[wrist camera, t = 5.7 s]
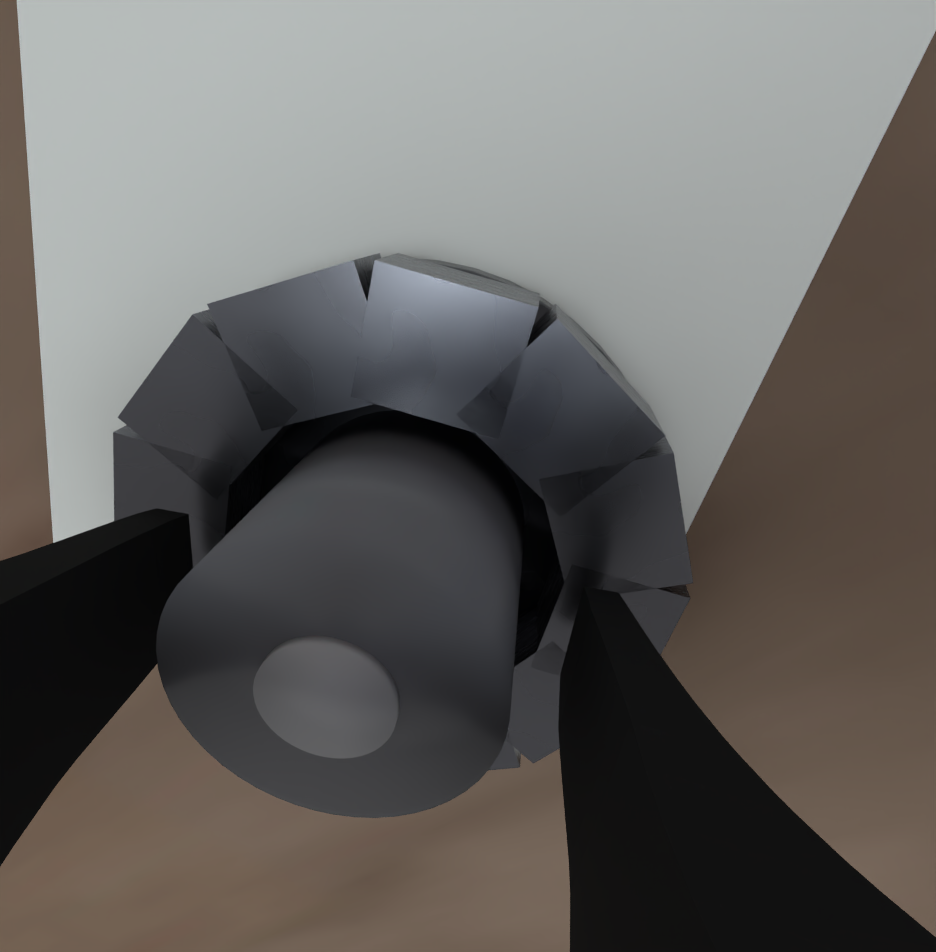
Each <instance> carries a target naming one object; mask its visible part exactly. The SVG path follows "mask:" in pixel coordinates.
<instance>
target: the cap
mask: <svg viewBox="0 0 936 952" xmlns="http://www.w3.org/2000/svg"><path fill="white" fill-rule="evenodd" d="M524 526H525V520H524V510H523V505H522V501H521V497H520V493H519V491H518V488H517V486H516V484H515V481H514V479H513V477H512V476H511V474H510V472H509V470H508V469H507V467H506V466H505V464H504V463H503V462H502V460H501V459H500V458H499V457H498V455H497V454H496V453H495V452H494V451H493V450H492V449H491V448H490V447H489V446H487V445H486V444H485V443H484V442H483V441H482V440H481V439H480V438H478V437H477V436H476V435H474V434H473V433H472V432H470V431H467V430H464V429H460V428H457V427H453V426H450V425H446V424H443V423H439V422H436V421H432V420H429V419H426V418H422V417H419V416H415V415H412V414H408V413H405V412H401V411H398V410H389V411H378V412H374V413H370V414H365V415H362V416H359V417H357V418H354V419H352V420H349V421H347V422H345V423H344V424H342V425H340V426H338V427H336V428H335V429H334V430H333V431H331V432H330V433H329V434H327V435H326V436H325V437H324V438H323V439H322V440H321V441H320V442H319V443H318V444H317V445H316V446H315V447H314V448H313V449H312V450H311V451H310V452H309V453H308V454H307V455H306V456H305V457H304V458H303V459H302V460H301V461H300V462H299V463H298V464H297V465H296V466H295V467H294V468H293V469H292V470H291V471H290V472H289V473H288V474H287V475H286V476H285V477H284V478H283V479H282V480H281V481H280V482H279V483H278V484H277V485H276V486H275V487H274V488H273V489H272V490H271V491H270V492H269V493H268V494H267V495H266V496H265V497H264V498H263V499H262V500H261V501H260V502H259V503H258V504H257V505H256V506H255V507H254V508H253V509H252V510H251V511H250V512H249V513H248V514H247V515H246V516H245V517H244V518H243V519H242V520H241V521H240V522H239V523H238V524H237V525H236V526H235V527H234V528H233V529H232V530H231V531H230V532H229V533H228V534H227V535H226V536H225V537H224V538H223V539H222V540H221V541H220V542H219V543H218V544H217V545H216V546H215V547H214V548H213V549H212V550H211V551H210V552H209V553H208V554H207V555H206V556H205V557H204V558H203V559H202V560H201V561H200V562H199V563H198V564H197V565H196V566H195V567H194V568H193V569H192V570H191V571H190V572H189V573H188V574H187V575H186V576H185V577H184V578H183V579H182V580H181V581H180V582H179V583H178V584H177V586H176V587H175V589H174V590H173V592H172V594H171V595H170V597H169V598H168V600H167V602H166V604H165V607H164V609H163V612H162V614H161V616H160V621H159V626H158V630H157V641H156V655H157V662H158V670H159V673H160V677H161V680H162V684H163V687H164V689H165V692H166V694H167V696H168V699H169V701H170V703H171V705H172V707H173V708H174V710H175V712H176V714H177V715H178V717H179V719H180V720H181V722H182V723H183V724H184V726H185V727H186V728H187V730H188V731H189V732H190V734H191V735H192V736H193V737H194V738H195V739H196V741H197V742H198V743H199V744H200V745H201V746H202V747H203V748H204V749H205V750H206V751H207V752H208V753H209V754H210V755H211V756H213V757H214V758H215V759H216V760H217V761H218V762H219V763H221V764H222V765H223V766H224V767H226V768H227V769H229V770H230V771H231V772H233V773H234V774H235V775H237V776H238V777H240V778H241V779H243V780H245V781H246V782H248V783H250V784H251V785H253V786H255V787H256V788H258V789H260V790H262V791H264V792H266V793H268V794H271V795H273V796H275V797H277V798H279V799H282V800H285V801H287V802H290V803H292V804H295V805H298V806H301V807H305V808H308V809H312V810H315V811H320V812H324V813H329V814H334V815H342V816H350V817H368V818H379V817H394V816H401V815H407V814H412V813H417V812H420V811H424V810H427V809H431V808H434V807H436V806H438V805H441V804H443V803H445V802H448V801H450V800H452V799H453V798H455V797H457V796H458V795H460V794H462V793H464V792H465V791H466V790H468V789H469V788H470V787H471V786H473V785H474V784H475V783H476V782H478V781H479V780H480V779H481V778H482V776H483V775H484V774H485V773H486V772H487V771H488V770H489V769H490V767H491V766H492V764H493V763H494V761H495V760H496V758H497V757H498V755H499V753H500V751H501V749H502V746H503V744H504V741H505V739H506V735H507V731H508V726H509V722H510V711H511V698H512V685H513V672H514V659H515V646H516V633H517V620H518V608H519V595H520V582H521V569H522V556H523V543H524Z"/></svg>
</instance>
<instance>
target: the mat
mask: <svg viewBox="0 0 936 952" xmlns="http://www.w3.org/2000/svg"><path fill="white" fill-rule="evenodd" d="M17 10H18V25H19V40H20V54H21V69H22V84H23V99H24V114H25V129H26V144H27V158H28V173H29V188H30V203H31V218H32V233H33V247H34V262H35V277H36V292H37V307H38V322H39V337H40V351H41V366H42V381H43V396H44V411H45V426H46V440H47V455H48V470H49V485H50V500H51V515H52V530H53V543H55V542H57V541H60V540H63V539H66V538H69V537H71V536H74V535H77V534H80V533H82V532H85V531H88V530H91V529H94V528H96V527H99V526H102V525H105V524H108V523H110V522H113V521H114V469H113V432H114V431H116V430H118V429H120V428H122V427H124V426H126V424H125V423H124V422H122V421H121V420H120V419H119V418H118V416H119V414H120V413H121V412H122V410H123V409H124V408H125V406H126V405H127V403H128V402H129V401H130V399H131V398H132V397H133V395H134V394H135V392H136V391H137V390H138V388H139V387H140V386H141V384H142V383H143V381H144V380H145V379H146V377H147V376H148V375H149V373H150V372H151V370H152V369H153V368H154V366H155V365H156V364H157V362H158V361H159V359H160V358H161V357H162V355H163V354H164V353H165V351H166V350H167V348H168V347H169V346H170V344H171V343H172V342H173V340H174V339H175V337H176V336H177V335H178V333H179V332H180V331H181V329H182V328H183V326H184V325H185V324H186V322H187V321H188V320H189V318H190V317H191V315H192V314H195V313H198V312H202V311H205V310H208V309H209V308H208V305H207V304H209V303H212V302H215V301H219V300H222V299H225V298H229V297H232V296H235V295H239V294H242V293H245V292H249V291H252V290H255V289H259V288H262V287H265V286H269V285H272V284H275V283H279V282H282V281H285V280H289V279H292V278H295V277H299V276H302V275H305V274H309V273H312V272H315V271H319V270H322V269H325V268H329V267H332V266H335V265H339V264H342V263H345V262H349V261H352V260H355V259H359V258H363V257H367V256H370V255H374V254H378V253H380V255H381V258H383V257H387V256H390V255H393V254H397V253H400V254H404V255H407V256H411V257H414V258H418V259H429V260H440V261H445V262H449V263H454V264H459V265H464V266H468V267H473V268H477V269H479V270H482V271H485V272H488V273H490V274H493V275H496V276H499V277H501V278H504V279H507V280H510V281H512V282H514V283H516V284H517V285H519V286H521V287H523V288H525V289H527V290H529V291H533V292H536V293H540V297H542V298H544V299H545V300H547V301H548V302H549V303H551V304H552V305H555V304H557V305H558V306H559V307H560V309H561V310H562V311H563V312H564V313H565V314H566V315H568V316H569V317H570V318H572V319H573V320H574V321H575V322H576V323H577V324H578V325H580V326H581V327H582V328H583V329H584V330H585V331H586V332H587V333H588V334H589V335H590V336H591V337H592V338H593V339H594V340H595V341H596V342H597V343H598V344H600V346H601V347H602V348H603V350H604V351H605V352H606V353H607V355H608V356H609V357H610V358H611V360H612V361H613V362H614V363H615V365H616V366H617V367H618V368H619V370H620V371H621V372H622V374H623V376H624V377H625V379H626V380H627V382H628V383H629V384H630V385H631V386H632V387H633V388H634V389H635V390H636V391H637V392H638V393H639V395H640V396H641V397H642V398H643V399H644V400H645V401H646V402H647V403H648V404H649V405H650V407H651V409H652V411H653V413H654V415H655V417H656V419H657V420H658V422H659V424H660V426H661V428H662V430H663V432H664V434H665V437H666V439H667V441H668V443H669V445H670V447H671V448H672V450H673V452H674V458H675V465H676V471H677V478H678V485H679V491H680V498H681V505H682V512H683V518H684V525H685V532H686V533H687V531H688V529H689V527H690V525H691V523H692V521H693V519H694V517H695V515H696V513H697V511H698V509H699V507H700V505H701V503H702V501H703V499H704V497H705V495H706V493H707V491H708V489H709V487H710V485H711V483H712V481H713V479H714V477H715V475H716V473H717V471H718V469H719V467H720V465H721V463H722V461H723V459H724V457H725V455H726V453H727V451H728V449H729V447H730V445H731V443H732V441H733V439H734V436H735V434H736V432H737V430H738V428H739V426H740V424H741V422H742V420H743V418H744V416H745V414H746V412H747V410H748V408H749V406H750V404H751V402H752V400H753V398H754V396H755V394H756V392H757V390H758V388H759V386H760V384H761V382H762V380H763V378H764V376H765V374H766V372H767V370H768V368H769V366H770V364H771V362H772V360H773V358H774V356H775V354H776V352H777V350H778V348H779V346H780V344H781V342H782V340H783V338H784V336H785V334H786V332H787V330H788V327H789V325H790V323H791V321H792V319H793V317H794V315H795V313H796V311H797V309H798V307H799V305H800V303H801V301H802V299H803V297H804V295H805V293H806V291H807V289H808V287H809V285H810V283H811V281H812V279H813V277H814V275H815V273H816V271H817V269H818V267H819V265H820V263H821V261H822V259H823V257H824V255H825V253H826V251H827V249H828V247H829V245H830V243H831V241H832V239H833V237H834V235H835V233H836V231H837V229H838V227H839V225H840V223H841V221H842V218H843V216H844V214H845V212H846V210H847V208H848V206H849V204H850V202H851V200H852V198H853V196H854V194H855V192H856V190H857V188H858V186H859V184H860V182H861V180H862V178H863V176H864V174H865V172H866V170H867V168H868V166H869V164H870V162H871V160H872V158H873V156H874V154H875V152H876V150H877V148H878V146H879V144H880V142H881V140H882V138H883V136H884V134H885V132H886V130H887V128H888V126H889V124H890V122H891V120H892V118H893V116H894V114H895V112H896V110H897V107H898V105H899V103H900V101H901V99H902V97H903V95H904V93H905V91H906V89H907V87H908V85H909V83H910V81H911V79H912V77H913V75H914V73H915V71H916V69H917V67H918V65H919V63H920V61H921V59H922V57H923V55H924V53H925V51H926V49H927V47H928V45H929V43H930V41H931V39H932V37H933V35H934V33H935V31H936V0H17Z"/></svg>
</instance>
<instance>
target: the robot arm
mask: <svg viewBox="0 0 936 952" xmlns="http://www.w3.org/2000/svg"><path fill="white" fill-rule="evenodd" d="M192 569H193V560H192V548H191V536H190V524H189V514H186V513H180V512H175V511H169V510H164V509H158V508H156V509H152V510H148V511H144V512H141V513H137V514H134V515H131V516H128V517H125V518H122V519H119V520H116V521H113V522H110V523H108V524H105V525H102V526H99V527H96V528H94V529H91V530H88V531H85V532H82V533H80V534H77V535H74V536H71V537H69V538H66V539H63V540H60V541H57V542H55V543H52V544H49V545H46V546H43V547H41V548H38V549H35V550H32V551H29V552H27V553H24V554H21V555H17V556H14V557H11V558H8V559H5V560H2V561H0V866H1V864H2V863H3V861H4V860H5V858H6V857H7V855H8V854H9V852H10V851H11V849H12V848H13V846H14V845H15V843H16V842H17V840H18V839H19V838H20V836H21V835H22V833H23V832H24V830H25V829H26V828H27V826H28V825H29V823H30V822H31V820H32V819H33V818H34V816H35V815H36V813H37V812H38V810H39V809H40V808H41V806H42V805H43V803H44V802H45V800H46V799H47V798H48V796H49V795H50V793H51V792H52V790H53V789H54V788H55V786H56V785H57V784H58V782H59V781H60V780H61V778H62V777H63V776H64V775H65V773H66V772H67V771H68V769H69V768H70V767H71V766H72V764H73V763H74V762H75V761H76V759H77V758H78V757H79V756H80V755H81V753H82V752H83V751H84V750H85V749H86V747H87V746H88V745H89V744H90V743H91V742H92V740H93V739H94V738H95V737H96V736H97V734H98V733H99V732H100V731H101V730H102V729H103V727H104V726H105V725H106V724H107V723H108V721H109V720H110V719H111V718H112V717H113V716H114V714H115V713H116V712H117V711H118V710H119V708H120V707H121V706H122V705H123V704H124V703H125V701H126V700H127V699H128V698H129V697H130V695H131V694H132V693H133V692H134V691H135V690H136V688H137V687H138V686H139V685H140V684H141V682H142V681H143V680H144V679H145V678H146V676H147V675H148V674H149V673H150V672H151V670H152V669H153V668H154V667H155V665H156V664H157V663H158V662H157V655H156V641H157V630H158V626H159V621H160V616H161V614H162V612H163V609H164V607H165V604H166V602H167V600H168V598H169V597H170V595H171V594H172V592H173V590H174V589H175V587H176V586H177V584H178V583H179V582H180V581H181V580H182V579H183V578H184V577H185V576H186V575H187V574H188V573H189V572H190V571H191V570H192ZM558 732H559V746H560V759H561V772H562V784H563V796H564V808H565V820H566V832H567V844H568V856H569V874H570V952H936V937H935V936H933V935H932V934H931V933H930V932H929V931H927V930H926V929H925V928H924V927H923V926H921V925H920V924H919V923H918V922H917V921H915V920H914V919H913V918H912V917H911V916H909V915H908V914H907V913H906V912H905V911H903V910H902V909H901V908H900V907H899V906H897V905H896V904H895V903H894V902H893V901H891V900H890V899H889V898H888V897H887V896H885V895H884V894H883V893H882V892H881V891H879V890H878V889H877V888H876V887H875V886H874V885H873V884H872V883H870V882H869V881H868V880H867V879H866V878H865V877H864V876H862V875H861V874H860V873H859V872H858V871H857V870H856V869H854V868H853V867H852V866H851V865H850V864H849V863H848V862H847V861H845V860H844V859H843V858H842V857H841V856H840V855H839V854H838V853H837V852H836V851H835V850H833V849H832V848H831V847H830V846H829V845H828V844H827V843H826V842H825V841H824V840H823V839H822V838H821V837H820V836H819V835H818V834H816V833H815V832H814V831H813V830H812V829H811V828H810V827H809V826H808V825H807V824H806V823H805V822H804V821H803V820H802V819H801V818H799V817H798V816H797V815H796V814H795V813H794V812H793V811H792V810H791V809H790V808H789V807H788V806H787V805H786V804H785V803H784V802H783V801H782V800H781V799H780V798H779V797H778V796H777V795H776V794H775V793H774V792H773V791H772V790H771V789H770V788H769V786H768V785H767V784H766V783H765V782H764V781H763V780H762V779H761V778H760V777H759V776H758V775H757V774H756V773H755V771H754V770H753V769H752V768H751V767H750V766H749V765H748V764H747V763H746V762H745V761H744V760H743V759H742V758H741V756H740V755H739V754H738V753H737V752H736V751H735V750H734V749H733V748H732V746H731V745H730V744H729V743H728V742H727V741H726V740H725V738H724V737H723V736H722V735H721V734H720V733H719V731H718V730H717V729H716V728H715V726H714V725H713V724H712V723H711V722H710V720H709V719H708V718H707V717H706V715H705V714H704V713H703V712H702V710H701V709H700V708H699V707H698V706H697V704H696V703H695V702H694V701H693V699H692V698H691V697H690V695H689V694H688V693H687V691H686V690H685V689H684V687H683V686H682V685H681V683H680V682H679V681H678V679H677V678H676V676H675V675H674V674H673V672H672V671H671V670H670V668H669V667H668V665H667V664H666V663H665V661H664V660H663V658H662V657H661V655H660V654H659V653H658V651H657V650H656V648H655V647H654V645H653V644H652V642H651V641H650V639H649V638H648V636H647V635H646V633H645V632H644V630H643V629H642V627H641V626H640V624H639V623H638V621H637V619H636V618H635V616H634V615H633V613H632V612H631V610H630V609H629V607H628V606H627V604H626V603H625V601H624V600H623V598H622V597H621V595H620V594H619V593H618V592H613V591H607V590H602V589H597V588H591V587H586V586H584V587H583V591H582V595H581V598H580V602H579V606H578V610H577V613H576V617H575V621H574V625H573V628H572V632H571V636H570V640H569V643H568V647H567V651H566V655H565V658H564V662H563V666H562V670H561V673H560V691H559V720H558Z"/></svg>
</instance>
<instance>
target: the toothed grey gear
mask: <svg viewBox="0 0 936 952" xmlns="http://www.w3.org/2000/svg"><path fill="white" fill-rule="evenodd" d="M207 305H208V308H209V309H208V310H205V311H202V312H198V313H195V314H192V315H191V317H190V318H189V320H188V321H187V322H186V324H185V325H184V326H183V328H182V329H181V331H180V332H179V333H178V335H177V336H176V337H175V339H174V340H173V342H172V343H171V344H170V346H169V347H168V348H167V350H166V351H165V353H164V354H163V355H162V357H161V358H160V359H159V361H158V362H157V364H156V365H155V366H154V368H153V369H152V370H151V372H150V373H149V375H148V376H147V377H146V379H145V380H144V381H143V383H142V384H141V386H140V387H139V388H138V390H137V391H136V392H135V394H134V395H133V397H132V398H131V399H130V401H129V402H128V403H127V405H126V406H125V408H124V409H123V410H122V412H121V413H120V414H119V416H118V418H119V419H120V420H121V421H122V422H124V423H125V424H126V426H124V427H122V428H120V429H118V430H116V431H114V432H113V469H114V521H116V520H119V519H122V518H125V517H128V516H131V515H134V514H137V513H141V512H144V511H148V510H152V509H156V508H158V509H164V510H169V511H175V512H180V513H186V514H189V524H190V536H191V548H192V560H193V568H194V567H195V566H196V565H197V564H198V563H199V562H200V561H201V560H202V559H203V558H204V557H205V556H206V555H207V554H208V553H209V552H210V551H211V550H212V549H213V548H214V547H215V546H216V545H217V544H218V543H219V542H220V541H221V540H222V539H223V538H224V537H225V536H226V535H227V534H228V533H229V532H230V531H231V530H232V529H233V528H234V527H235V526H236V525H237V524H238V523H239V522H240V521H241V520H242V519H243V518H244V517H245V516H246V515H247V514H248V513H249V512H250V511H251V510H252V509H253V508H254V507H255V506H256V505H257V504H258V503H259V502H260V501H261V500H262V499H263V498H264V497H265V496H266V495H267V494H268V493H269V492H270V491H271V490H272V489H273V488H274V487H275V486H276V485H277V484H278V483H279V482H280V481H281V480H282V479H283V478H284V477H285V476H286V475H287V474H288V473H289V472H290V471H291V470H292V469H293V468H294V467H295V466H296V465H297V464H298V463H299V462H300V461H301V460H302V459H303V458H304V457H305V456H306V455H307V454H308V453H309V452H310V451H311V450H312V449H313V448H314V447H315V446H316V445H317V444H318V443H319V442H320V441H321V440H322V439H323V438H324V437H325V436H326V435H327V434H329V433H330V432H331V431H333V430H334V429H335V428H336V427H338V426H340V425H342V424H344V423H345V422H347V421H349V420H352V419H354V418H357V417H359V416H362V415H365V414H370V413H374V412H378V411H389V410H398V411H401V412H405V413H408V414H412V415H415V416H419V417H422V418H426V419H429V420H432V421H436V422H439V423H443V424H446V425H450V426H453V427H457V428H460V429H464V430H467V431H470V432H472V433H473V434H474V435H476V436H477V437H478V438H480V439H481V440H482V441H483V442H484V443H485V444H486V445H487V446H489V447H490V448H491V449H492V450H493V451H494V452H495V453H496V454H497V455H498V457H499V458H500V459H501V460H502V462H503V463H504V464H505V466H506V467H507V469H508V470H509V472H510V474H511V476H512V477H513V479H514V481H515V484H516V486H517V488H518V491H519V493H520V497H521V501H522V505H523V510H524V520H525V526H524V543H523V556H522V569H521V582H520V595H519V608H518V620H517V633H516V646H515V659H514V672H513V685H512V698H511V711H510V722H509V726H508V731H507V735H506V739H505V741H504V744H503V746H502V749H501V751H500V753H499V755H498V757H497V758H496V760H495V761H494V763H493V764H492V766H491V767H490V769H489V770H496V769H507V768H518V767H520V758H521V753H522V754H523V755H524V756H525V757H526V758H528V759H529V760H530V761H531V762H532V763H535V762H537V761H538V760H540V759H542V758H543V757H545V756H547V755H549V754H550V753H552V752H554V751H555V750H557V749H559V748H560V746H559V732H558V720H559V691H560V673H561V670H562V666H563V662H564V658H565V655H566V651H567V647H568V643H569V640H570V636H571V632H572V628H573V625H574V621H575V617H576V613H577V610H578V606H579V602H580V598H581V595H582V591H583V587H584V586H586V587H591V588H597V589H602V590H607V591H613V592H618V593H619V594H620V595H621V597H622V598H623V600H624V601H625V603H626V604H627V606H628V607H629V609H630V610H631V612H632V613H633V615H634V616H635V618H636V619H637V621H638V623H639V624H640V626H641V627H642V629H643V630H644V632H645V633H646V635H647V636H648V638H649V639H650V641H651V642H652V644H653V645H654V647H655V648H656V650H657V651H658V653H659V654H660V655H661V653H662V651H663V649H664V647H665V645H666V643H667V641H668V640H669V638H670V636H671V634H672V632H673V630H674V628H675V626H676V624H677V623H678V621H679V619H680V617H681V615H682V613H683V611H684V609H685V607H686V606H687V604H688V602H689V600H690V596H689V593H688V591H687V588H686V585H685V584H690V583H693V579H692V572H691V565H690V559H689V552H688V545H687V539H686V532H685V525H684V518H683V512H682V505H681V498H680V491H679V485H678V478H677V471H676V465H675V458H674V452H673V450H672V448H671V447H670V445H669V443H668V441H667V439H666V437H665V434H664V432H663V430H662V428H661V426H660V424H659V422H658V420H657V419H656V417H655V415H654V413H653V411H652V409H651V407H650V405H649V404H648V403H647V402H646V401H645V400H644V399H643V398H642V397H641V396H640V395H639V393H638V392H637V391H636V390H635V389H634V388H633V387H632V386H631V385H630V384H629V383H628V382H627V380H626V379H625V377H624V376H623V374H622V372H621V371H620V370H619V368H618V367H617V366H616V365H615V363H614V362H613V361H612V360H611V358H610V357H609V356H608V355H607V353H606V352H605V351H604V350H603V348H602V347H601V346H600V344H598V343H597V342H596V341H595V340H594V339H593V338H592V337H591V336H590V335H589V334H588V333H587V332H586V331H585V330H584V329H583V328H582V327H581V326H580V325H578V324H577V323H576V322H575V321H574V320H573V319H572V318H570V317H569V316H568V315H566V314H565V313H564V312H563V311H562V310H561V309H560V307H559V306H558V305H557V304H555V305H552V304H551V303H549V302H548V301H547V300H545V299H544V298H542V297H540V293H536V292H533V291H529V290H527V289H525V288H523V287H521V286H519V285H517V284H516V283H514V282H512V281H510V280H507V279H504V278H501V277H499V276H496V275H493V274H490V273H488V272H485V271H482V270H479V269H477V268H473V267H468V266H464V265H459V264H454V263H449V262H445V261H440V260H429V259H418V258H414V257H411V256H407V255H404V254H400V253H397V254H393V255H390V256H387V257H383V258H381V255H380V253H378V254H374V255H370V256H367V257H363V258H359V259H355V260H352V261H349V262H345V263H342V264H339V265H335V266H332V267H329V268H325V269H322V270H319V271H315V272H312V273H309V274H305V275H302V276H299V277H295V278H292V279H289V280H285V281H282V282H279V283H275V284H272V285H269V286H265V287H262V288H259V289H255V290H252V291H249V292H245V293H242V294H239V295H235V296H232V297H229V298H225V299H222V300H219V301H215V302H212V303H209V304H207Z"/></svg>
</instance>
